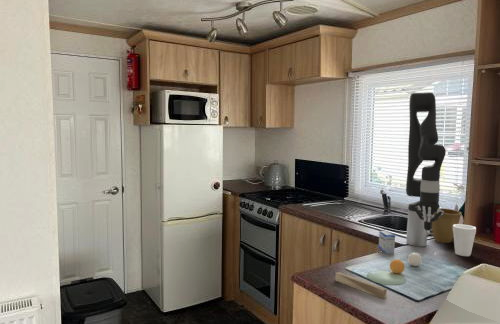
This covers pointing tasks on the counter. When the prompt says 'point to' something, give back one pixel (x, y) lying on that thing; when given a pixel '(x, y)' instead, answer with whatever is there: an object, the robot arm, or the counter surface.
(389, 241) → the medicine box
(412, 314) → the counter surface
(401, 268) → the orange ball
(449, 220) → the plant pot
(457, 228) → the foam cup
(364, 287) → the light wooden bar
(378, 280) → the mint mark
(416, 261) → the white ball
